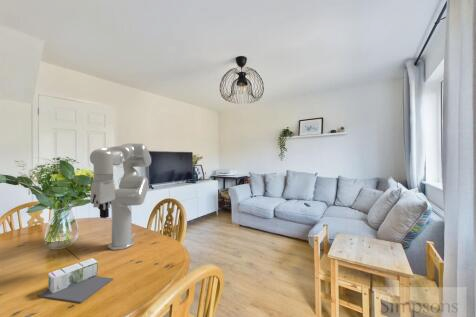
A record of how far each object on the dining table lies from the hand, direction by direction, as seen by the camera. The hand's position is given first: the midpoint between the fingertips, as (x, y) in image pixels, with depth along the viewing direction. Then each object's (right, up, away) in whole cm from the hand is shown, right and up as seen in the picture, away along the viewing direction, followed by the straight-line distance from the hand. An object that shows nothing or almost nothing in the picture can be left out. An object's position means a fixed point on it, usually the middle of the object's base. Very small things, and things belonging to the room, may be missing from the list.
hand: (104, 217), depth 96 cm
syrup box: (+2, -18, -9) cm, 20 cm away
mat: (+2, -21, -18) cm, 28 cm away
